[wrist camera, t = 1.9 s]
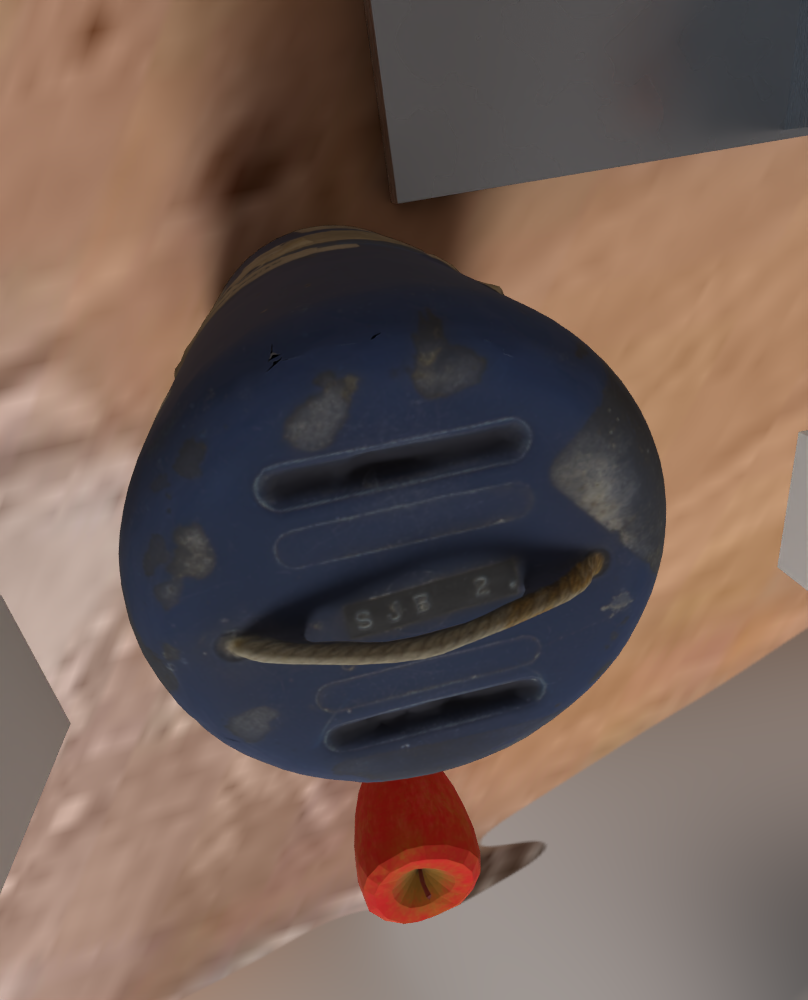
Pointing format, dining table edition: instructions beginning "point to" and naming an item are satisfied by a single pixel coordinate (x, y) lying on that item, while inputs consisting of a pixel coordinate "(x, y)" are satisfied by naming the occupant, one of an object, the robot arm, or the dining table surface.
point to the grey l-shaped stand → (577, 85)
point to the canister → (385, 514)
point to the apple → (414, 848)
